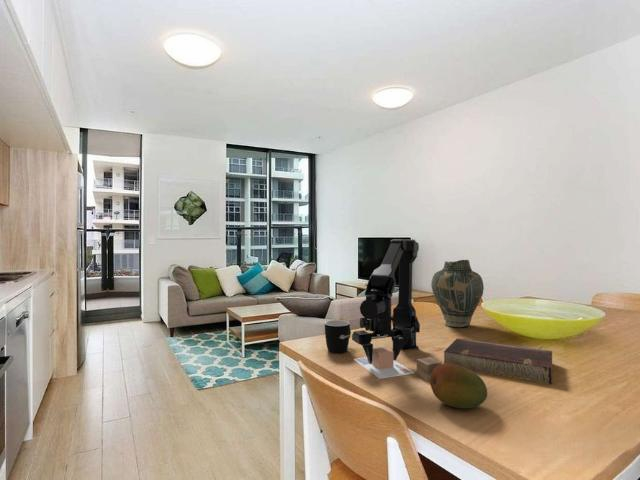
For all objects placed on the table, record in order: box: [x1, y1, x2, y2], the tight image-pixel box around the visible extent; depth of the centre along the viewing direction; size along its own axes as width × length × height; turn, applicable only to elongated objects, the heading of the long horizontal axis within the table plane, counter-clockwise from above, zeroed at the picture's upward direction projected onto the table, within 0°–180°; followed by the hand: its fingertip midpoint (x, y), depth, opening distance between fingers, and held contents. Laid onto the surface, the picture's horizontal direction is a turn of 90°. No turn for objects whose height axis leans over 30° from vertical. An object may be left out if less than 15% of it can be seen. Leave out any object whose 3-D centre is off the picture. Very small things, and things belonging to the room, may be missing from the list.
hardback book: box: [443, 338, 553, 385], centre depth 118 cm, size 29×19×5 cm, turn 58°
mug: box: [324, 319, 352, 354], centre depth 134 cm, size 12×9×10 cm
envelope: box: [353, 356, 415, 380], centre depth 117 cm, size 12×18×1 cm, turn 20°
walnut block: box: [416, 356, 443, 382], centre depth 108 cm, size 5×5×5 cm
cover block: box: [372, 346, 394, 369], centre depth 117 cm, size 5×5×5 cm
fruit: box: [429, 363, 488, 409], centre depth 91 cm, size 12×12×10 cm
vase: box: [430, 259, 485, 328], centre depth 168 cm, size 22×22×30 cm
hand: (382, 361), depth 117 cm, fingers open, 8 cm apart
